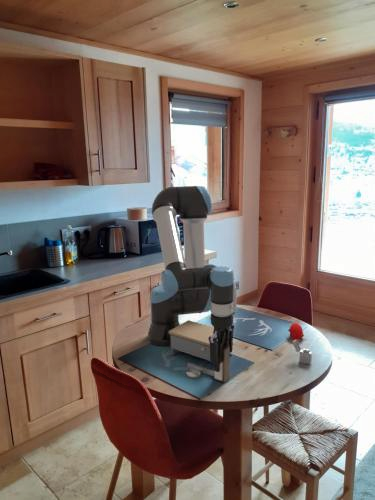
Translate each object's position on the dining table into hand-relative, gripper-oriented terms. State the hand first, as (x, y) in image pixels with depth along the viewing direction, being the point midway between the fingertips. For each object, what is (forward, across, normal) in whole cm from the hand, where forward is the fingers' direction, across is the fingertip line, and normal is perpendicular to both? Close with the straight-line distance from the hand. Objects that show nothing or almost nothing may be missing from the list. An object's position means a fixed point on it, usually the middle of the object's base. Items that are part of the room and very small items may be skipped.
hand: (221, 376), depth 134 cm
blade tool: (+1, 0, +6) cm, 6 cm away
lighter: (+1, +28, -19) cm, 33 cm away
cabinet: (+1, +10, +16) cm, 18 cm away
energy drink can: (+1, +56, +28) cm, 63 cm away
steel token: (+1, -3, +10) cm, 10 cm away
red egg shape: (+1, +46, -10) cm, 47 cm away
